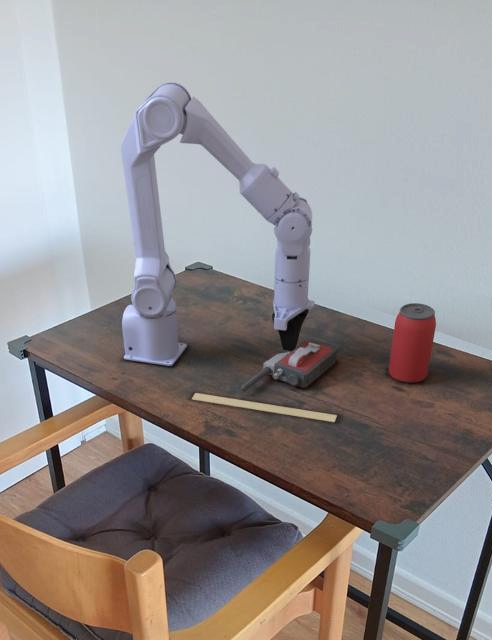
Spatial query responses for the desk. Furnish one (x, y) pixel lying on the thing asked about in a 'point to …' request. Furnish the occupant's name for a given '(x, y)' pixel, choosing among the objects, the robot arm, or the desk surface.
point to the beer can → (412, 343)
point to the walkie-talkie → (298, 364)
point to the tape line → (265, 407)
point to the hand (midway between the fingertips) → (289, 349)
